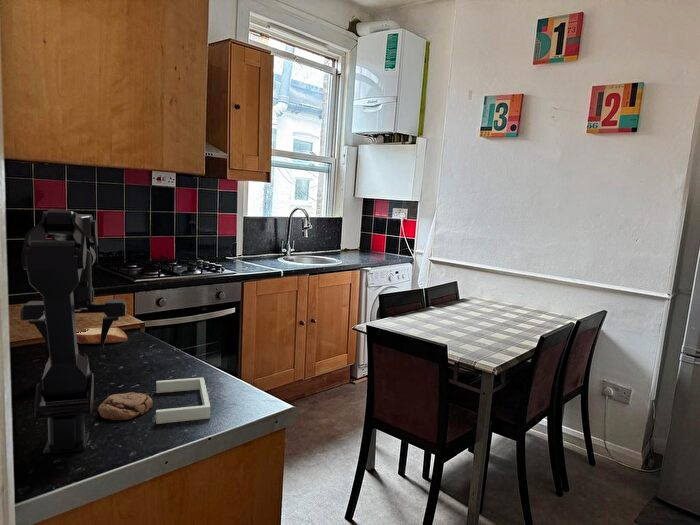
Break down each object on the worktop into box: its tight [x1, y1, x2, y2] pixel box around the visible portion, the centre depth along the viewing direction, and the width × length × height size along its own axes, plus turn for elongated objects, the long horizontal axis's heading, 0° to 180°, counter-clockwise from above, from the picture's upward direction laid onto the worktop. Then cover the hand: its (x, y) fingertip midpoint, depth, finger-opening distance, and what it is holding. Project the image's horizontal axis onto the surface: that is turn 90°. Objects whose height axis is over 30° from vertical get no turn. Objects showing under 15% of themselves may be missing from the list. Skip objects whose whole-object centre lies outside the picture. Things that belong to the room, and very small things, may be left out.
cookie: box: [97, 391, 154, 421], centre depth 106 cm, size 10×11×3 cm
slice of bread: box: [77, 327, 129, 345], centre depth 151 cm, size 18×18×4 cm
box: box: [155, 377, 211, 425], centre depth 110 cm, size 17×10×2 cm, turn 21°
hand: (77, 349), depth 104 cm, fingers open, 9 cm apart
